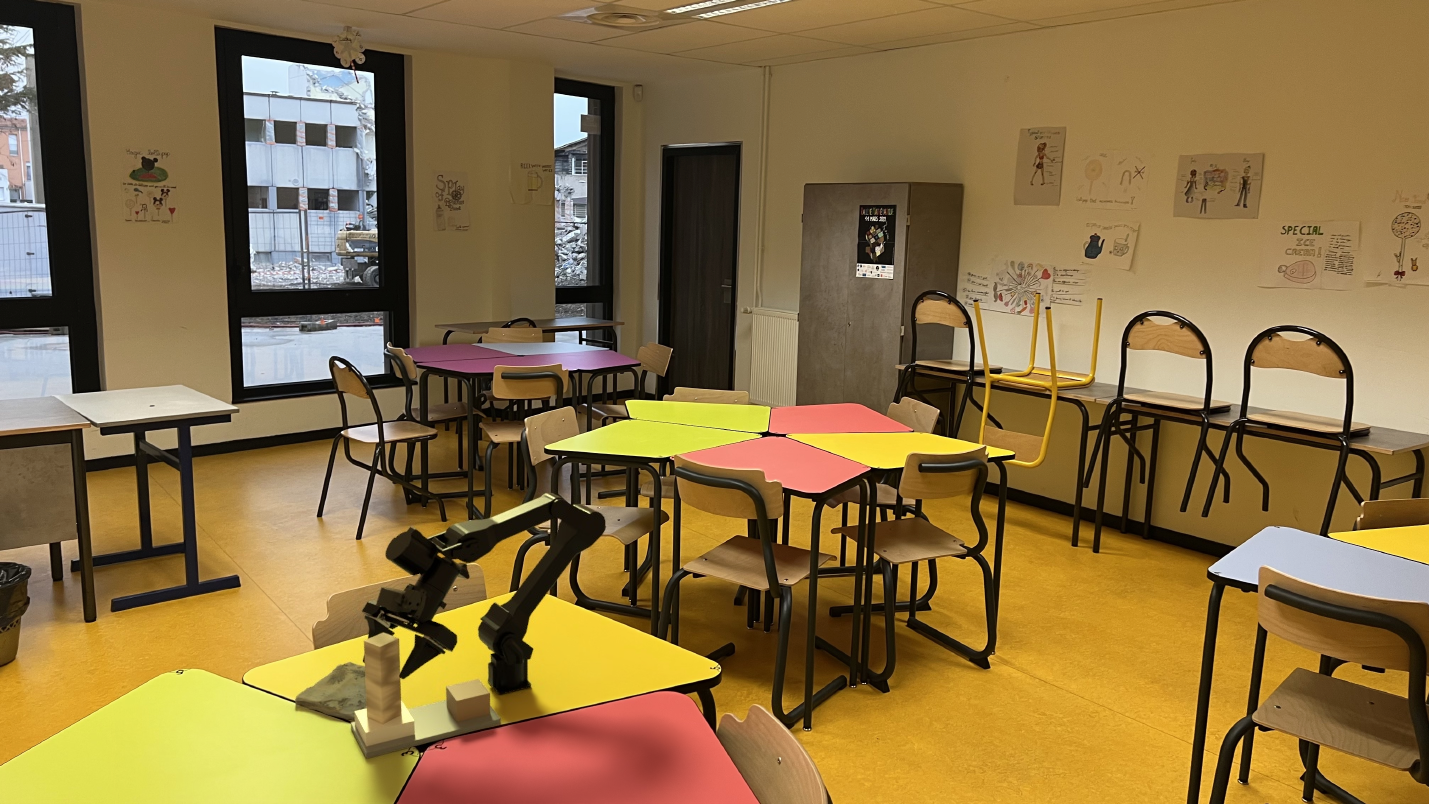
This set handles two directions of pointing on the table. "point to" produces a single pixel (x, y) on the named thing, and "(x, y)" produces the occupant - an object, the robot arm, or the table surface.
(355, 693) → the fossil rock
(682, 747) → the table surface
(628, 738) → the table surface
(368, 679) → the beech pillar
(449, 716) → the building board
